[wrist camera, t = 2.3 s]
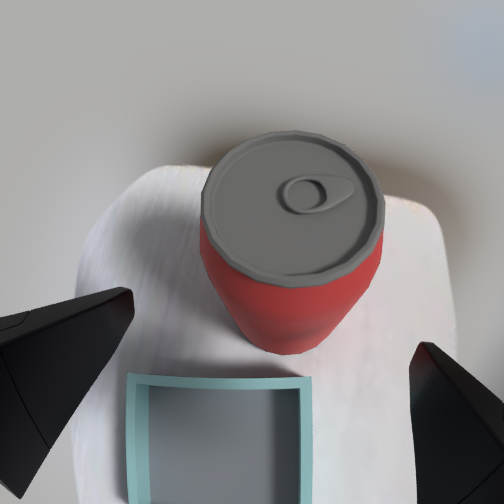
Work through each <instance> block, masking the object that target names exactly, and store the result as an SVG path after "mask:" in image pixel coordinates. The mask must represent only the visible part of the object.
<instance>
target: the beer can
mask: <svg viewBox="0 0 504 504" xmlns="http://www.w3.org/2000/svg"><path fill="white" fill-rule="evenodd" d="M384 222H385V200H384V196H383V193H382V190H381V187H380V184H379V181H378V179H377V177H376V176H375V175H374V173H373V172H372V170H371V169H370V168H369V166H368V165H367V163H366V162H365V161H364V160H363V159H362V158H361V157H359V156H358V155H357V154H356V153H354V152H353V151H352V150H350V149H349V148H348V147H347V146H345V145H344V144H342V143H339V142H337V141H335V140H332V139H330V138H328V137H325V136H323V135H320V134H315V133H308V132H302V131H282V132H281V131H280V132H270V133H266V134H263V135H260V136H257V137H254V138H251V139H248V140H246V141H244V142H242V143H241V144H239V145H238V146H236V147H234V148H233V149H231V150H230V151H228V152H227V153H226V154H225V155H224V156H223V157H222V158H221V159H220V160H219V162H218V163H217V164H216V165H215V166H214V167H213V168H212V170H211V171H210V173H209V175H208V178H207V180H206V183H205V185H204V187H203V190H202V192H201V216H200V254H201V256H202V259H203V262H204V265H205V268H206V271H207V273H208V276H209V279H210V280H211V282H212V284H213V285H214V287H215V289H216V291H217V292H218V294H219V296H220V297H221V299H222V301H223V302H224V304H225V306H226V307H227V309H228V311H229V312H230V314H231V316H232V317H233V319H234V321H235V322H236V324H237V326H238V327H239V329H240V330H241V331H242V333H243V334H244V335H245V336H246V337H247V339H248V340H249V341H250V342H251V343H253V344H254V345H256V346H257V347H259V348H261V349H262V350H264V351H266V352H270V353H275V354H279V355H291V354H300V353H303V352H305V351H307V350H310V349H312V348H314V347H316V346H317V345H318V344H320V343H321V342H322V341H323V340H324V339H325V338H326V337H327V336H328V335H329V334H330V333H331V332H332V331H333V330H334V329H335V327H336V326H337V325H338V324H339V323H340V321H341V320H342V319H343V318H344V317H345V316H346V314H347V313H348V312H349V311H350V309H351V308H352V307H353V306H354V305H355V303H356V302H357V301H358V300H359V298H360V297H361V296H362V295H363V293H364V292H365V291H366V290H367V288H368V287H369V285H370V283H371V281H372V279H373V277H374V275H375V272H376V270H377V268H378V266H379V264H380V260H381V254H382V243H383V230H384Z"/></svg>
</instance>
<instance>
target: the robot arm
mask: <svg viewBox="0 0 504 504" xmlns="http://www.w3.org/2000/svg"><path fill="white" fill-rule="evenodd" d="M134 313H135V310H134V299H133V292H132V290H131V289H128V288H124V287H117V288H113V289H109V290H105V291H101V292H98V293H94V294H90V295H86V296H82V297H79V298H75V299H71V300H67V301H63V302H60V303H56V304H52V305H48V306H45V307H41V308H37V309H33V310H31V311H25V312H21V313H18V314H14V315H9V316H5V317H0V484H2V485H3V486H4V487H5V488H6V489H7V490H9V491H10V492H11V493H12V494H14V495H15V496H16V497H17V498H19V499H21V498H22V497H23V495H24V493H25V492H26V490H27V488H28V487H29V485H30V483H31V481H32V480H33V478H34V476H35V474H36V473H37V471H38V469H39V468H40V466H41V465H42V463H43V461H44V460H45V458H46V456H47V455H48V453H49V451H50V449H51V448H52V446H53V445H54V443H55V441H56V440H57V438H58V437H59V435H60V433H61V432H62V430H63V429H64V427H65V425H66V424H67V423H68V421H69V420H70V418H71V416H72V415H73V413H74V412H75V410H76V409H77V407H78V406H79V404H80V403H81V401H82V400H83V398H84V397H85V395H86V394H87V392H88V391H89V389H90V388H91V386H92V385H93V383H94V382H95V380H96V379H97V377H98V376H99V374H100V373H101V371H102V370H103V368H104V367H105V366H106V364H107V363H108V361H109V360H110V358H111V357H112V355H113V354H114V352H115V350H116V349H117V347H118V345H119V343H120V341H121V340H122V338H123V336H124V334H125V332H126V331H127V329H128V327H129V325H130V323H131V321H132V320H133V318H134ZM409 382H410V413H411V423H412V432H413V441H414V453H415V466H416V484H417V504H504V403H502V401H501V400H500V399H499V398H498V397H497V396H496V395H494V394H493V393H492V392H491V391H490V390H488V388H486V387H485V386H484V385H483V384H482V383H480V382H479V381H478V380H477V379H476V378H475V377H473V376H472V375H471V374H470V373H469V372H467V371H466V370H465V369H464V368H463V367H462V366H460V365H459V364H458V363H457V362H456V361H454V360H453V359H452V358H451V357H450V356H448V355H447V354H446V353H445V352H444V351H442V350H441V349H440V348H439V347H437V346H436V345H435V344H434V343H432V342H420V343H419V345H418V346H417V349H416V351H415V353H414V356H413V358H412V360H411V362H410V366H409Z"/></svg>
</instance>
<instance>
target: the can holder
mask: <svg viewBox="0 0 504 504" xmlns="http://www.w3.org/2000/svg"><path fill="white" fill-rule="evenodd" d="M312 464H313V433H312V380H311V376H308V377H288V378H197V377H177V376H162V375H149V374H138V373H128V372H127V384H126V466H127V485H128V500H129V504H312Z"/></svg>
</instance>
